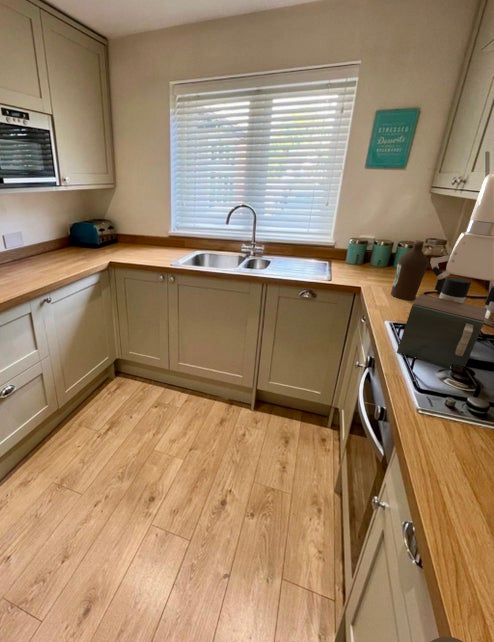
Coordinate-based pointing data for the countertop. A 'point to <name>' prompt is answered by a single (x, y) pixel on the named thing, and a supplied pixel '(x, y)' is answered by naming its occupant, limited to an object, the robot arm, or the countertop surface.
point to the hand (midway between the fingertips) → (461, 298)
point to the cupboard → (451, 307)
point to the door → (439, 337)
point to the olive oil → (410, 273)
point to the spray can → (455, 289)
